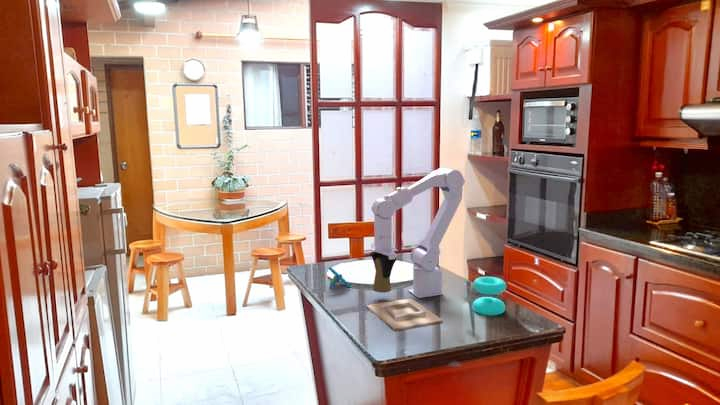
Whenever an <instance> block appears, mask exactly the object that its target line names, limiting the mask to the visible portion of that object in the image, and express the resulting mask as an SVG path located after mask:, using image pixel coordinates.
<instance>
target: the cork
mask: <svg viewBox="0 0 720 405" xmlns="http://www.w3.org/2000/svg"><path fill="white" fill-rule="evenodd" d="M375 266H376V267H377V268H376V269H375V273H374V274H375V275H374V281H373V287H372V291H374V292H377V293H380V294H381V293H390V292H391V290H392V288H391V276H390V277H389V278H383V273H382V266H381V262H380V260H379V257H378V258H377V259H376V260H375V265H374V267H375Z"/></svg>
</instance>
